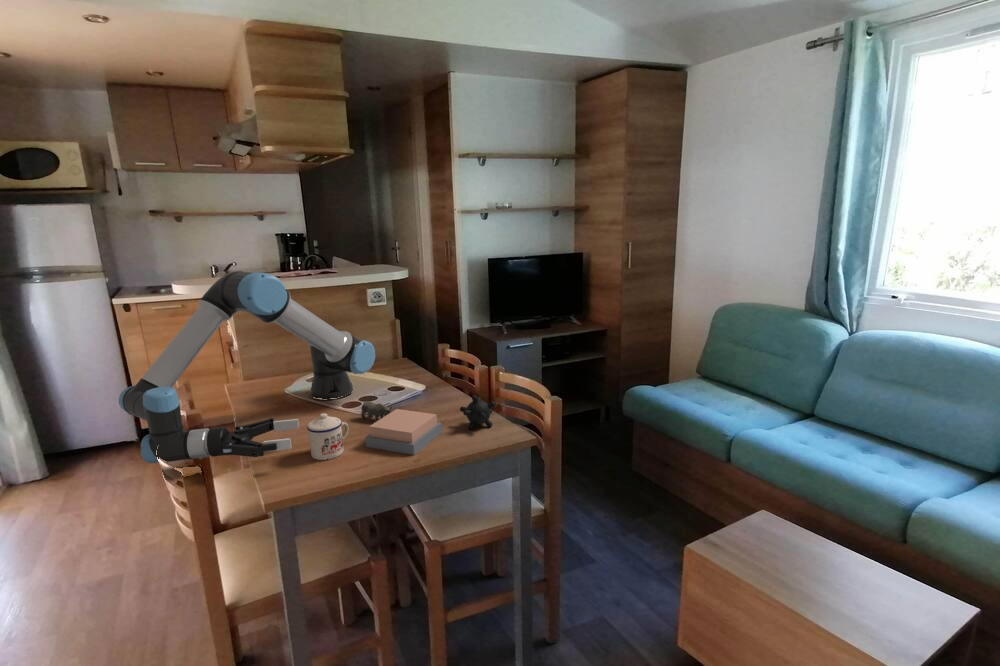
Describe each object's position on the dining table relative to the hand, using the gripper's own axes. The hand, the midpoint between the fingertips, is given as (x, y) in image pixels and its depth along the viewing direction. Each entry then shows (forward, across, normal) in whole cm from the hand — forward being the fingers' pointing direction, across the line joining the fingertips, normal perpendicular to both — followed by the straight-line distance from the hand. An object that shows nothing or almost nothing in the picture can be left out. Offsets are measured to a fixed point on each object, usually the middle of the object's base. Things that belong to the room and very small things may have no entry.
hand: (294, 433), depth 144 cm
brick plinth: (+29, -3, -7) cm, 30 cm away
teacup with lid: (+9, -1, -7) cm, 12 cm away
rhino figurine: (+22, -20, -7) cm, 31 cm away
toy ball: (+52, -7, -7) cm, 53 cm away
